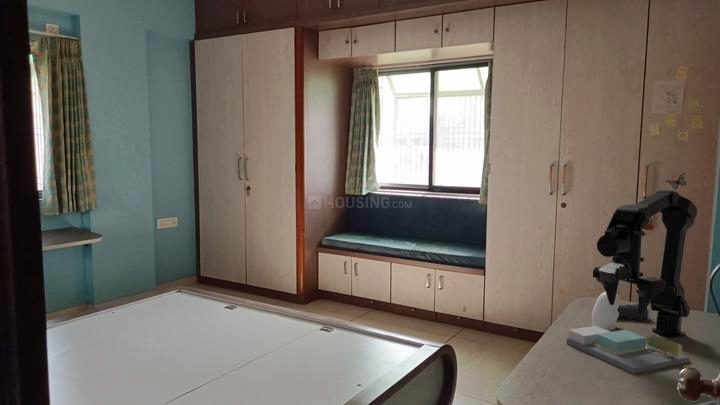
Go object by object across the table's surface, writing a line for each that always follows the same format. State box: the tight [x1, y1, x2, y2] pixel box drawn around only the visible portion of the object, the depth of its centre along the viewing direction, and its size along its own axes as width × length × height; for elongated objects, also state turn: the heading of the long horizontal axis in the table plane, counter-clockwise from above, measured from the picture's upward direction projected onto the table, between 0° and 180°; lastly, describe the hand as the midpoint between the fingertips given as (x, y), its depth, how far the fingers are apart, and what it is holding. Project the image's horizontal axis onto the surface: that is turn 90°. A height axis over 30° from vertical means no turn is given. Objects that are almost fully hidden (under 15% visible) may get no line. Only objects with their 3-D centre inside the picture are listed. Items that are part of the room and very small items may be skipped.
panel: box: [565, 325, 690, 375], centre depth 138 cm, size 20×22×4 cm
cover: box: [597, 329, 647, 353], centre depth 138 cm, size 10×7×3 cm, turn 112°
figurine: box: [591, 291, 621, 331], centre depth 157 cm, size 7×8×12 cm
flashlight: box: [617, 303, 650, 322], centre depth 166 cm, size 15×5×5 cm, turn 78°
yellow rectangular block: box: [646, 333, 683, 357], centre depth 133 cm, size 2×9×4 cm, turn 22°
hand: (625, 309), depth 138 cm, fingers open, 9 cm apart
